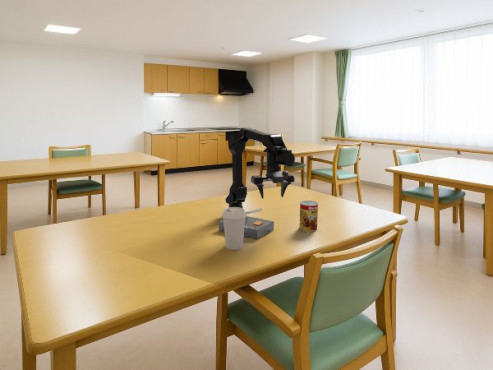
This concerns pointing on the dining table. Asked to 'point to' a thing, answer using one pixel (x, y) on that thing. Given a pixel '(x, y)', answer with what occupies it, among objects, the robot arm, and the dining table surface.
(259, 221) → the silver metal tray
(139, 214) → the dining table surface
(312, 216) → the canned food
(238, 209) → the coffee cup
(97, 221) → the dining table surface
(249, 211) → the steel strap
